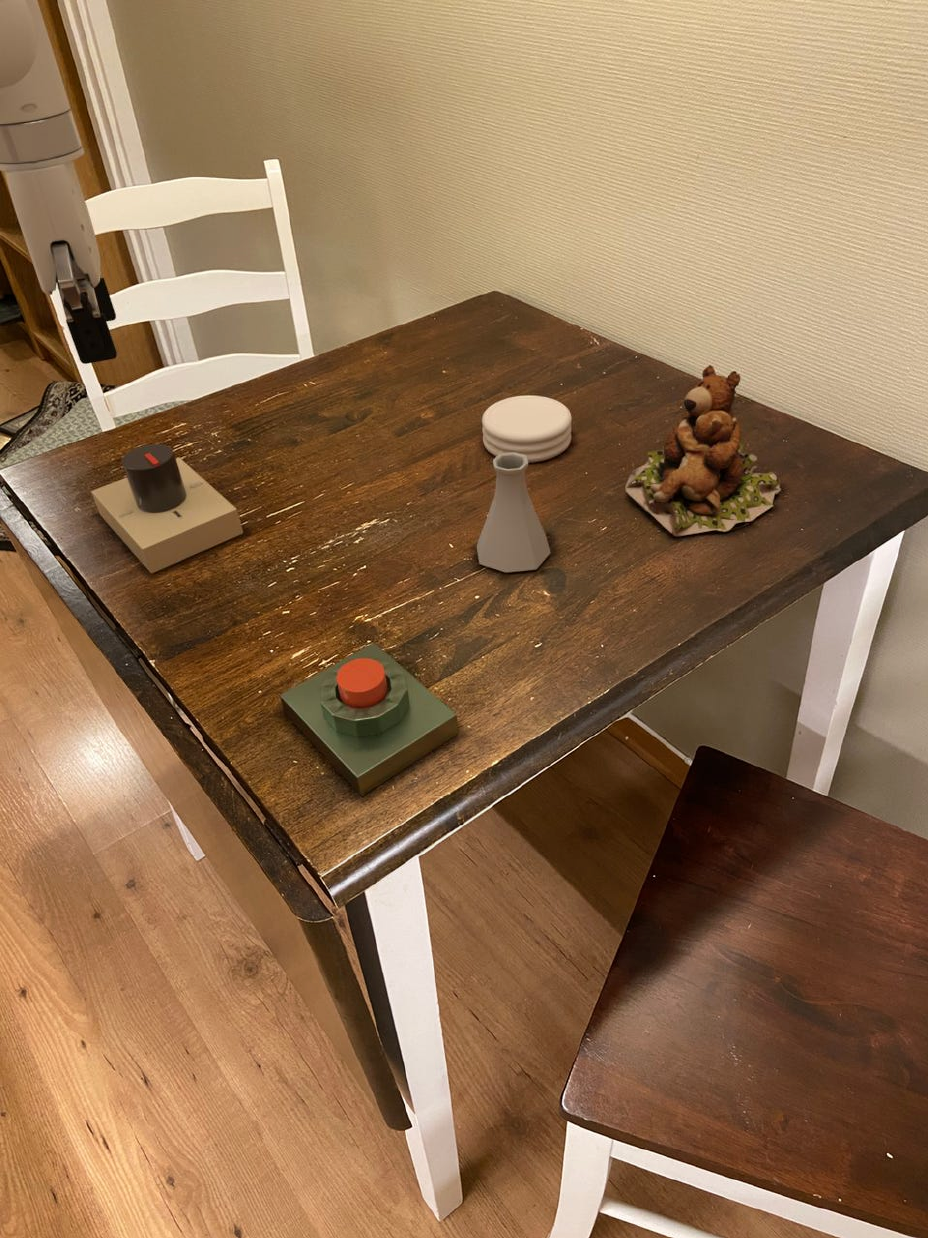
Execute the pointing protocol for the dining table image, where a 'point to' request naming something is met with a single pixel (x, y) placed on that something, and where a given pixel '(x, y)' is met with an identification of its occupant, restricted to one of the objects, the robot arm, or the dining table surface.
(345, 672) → the button
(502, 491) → the flask
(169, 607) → the dining table surface
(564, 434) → the cream round flat cylinder
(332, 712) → the button block
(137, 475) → the knob
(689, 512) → the bear figurine
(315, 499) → the dining table surface
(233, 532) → the panel
